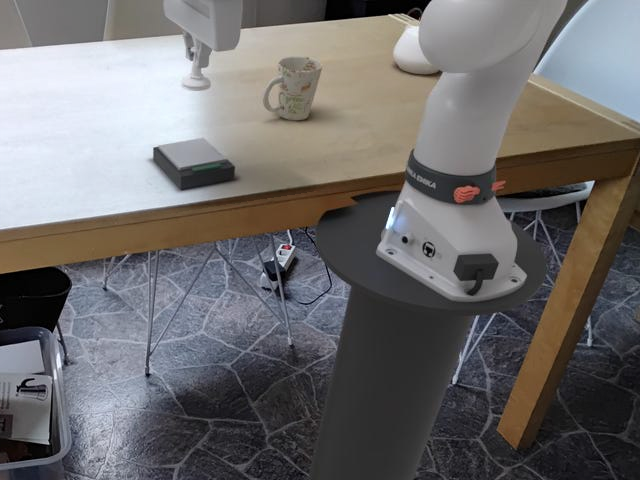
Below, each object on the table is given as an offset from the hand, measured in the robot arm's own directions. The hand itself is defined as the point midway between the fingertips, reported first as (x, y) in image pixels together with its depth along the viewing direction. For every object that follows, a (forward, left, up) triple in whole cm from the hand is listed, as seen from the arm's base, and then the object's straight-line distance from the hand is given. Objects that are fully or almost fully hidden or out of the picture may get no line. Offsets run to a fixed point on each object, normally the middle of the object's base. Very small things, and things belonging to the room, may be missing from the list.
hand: (196, 63), depth 115 cm
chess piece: (0, 0, -4) cm, 4 cm away
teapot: (+26, -70, -18) cm, 77 cm away
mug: (+13, -27, -18) cm, 35 cm away
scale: (-1, 0, -18) cm, 18 cm away
